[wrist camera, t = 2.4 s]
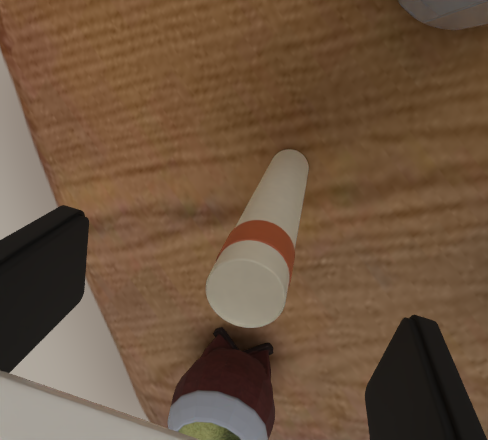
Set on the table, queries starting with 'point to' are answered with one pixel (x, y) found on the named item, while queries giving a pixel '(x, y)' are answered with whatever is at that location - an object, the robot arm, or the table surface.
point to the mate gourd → (225, 393)
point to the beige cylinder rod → (261, 247)
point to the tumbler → (448, 13)
